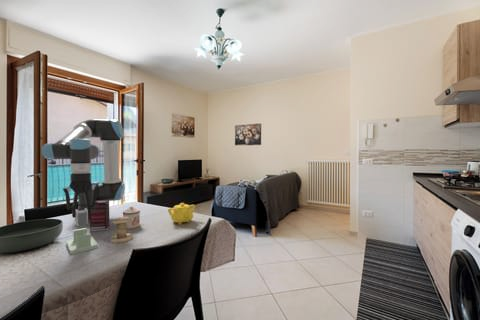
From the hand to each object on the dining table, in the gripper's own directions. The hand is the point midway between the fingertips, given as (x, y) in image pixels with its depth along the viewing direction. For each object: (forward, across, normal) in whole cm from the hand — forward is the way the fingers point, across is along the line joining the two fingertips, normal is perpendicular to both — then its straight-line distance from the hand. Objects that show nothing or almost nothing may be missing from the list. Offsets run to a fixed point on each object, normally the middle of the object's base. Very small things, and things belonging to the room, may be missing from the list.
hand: (81, 223), depth 103 cm
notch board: (+11, 0, 0) cm, 11 cm away
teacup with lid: (+11, +27, +15) cm, 33 cm away
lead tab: (+1, 0, 0) cm, 1 cm away
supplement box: (+11, +11, +20) cm, 25 cm away
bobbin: (+11, +16, -3) cm, 19 cm away
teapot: (+11, +52, 0) cm, 53 cm away
